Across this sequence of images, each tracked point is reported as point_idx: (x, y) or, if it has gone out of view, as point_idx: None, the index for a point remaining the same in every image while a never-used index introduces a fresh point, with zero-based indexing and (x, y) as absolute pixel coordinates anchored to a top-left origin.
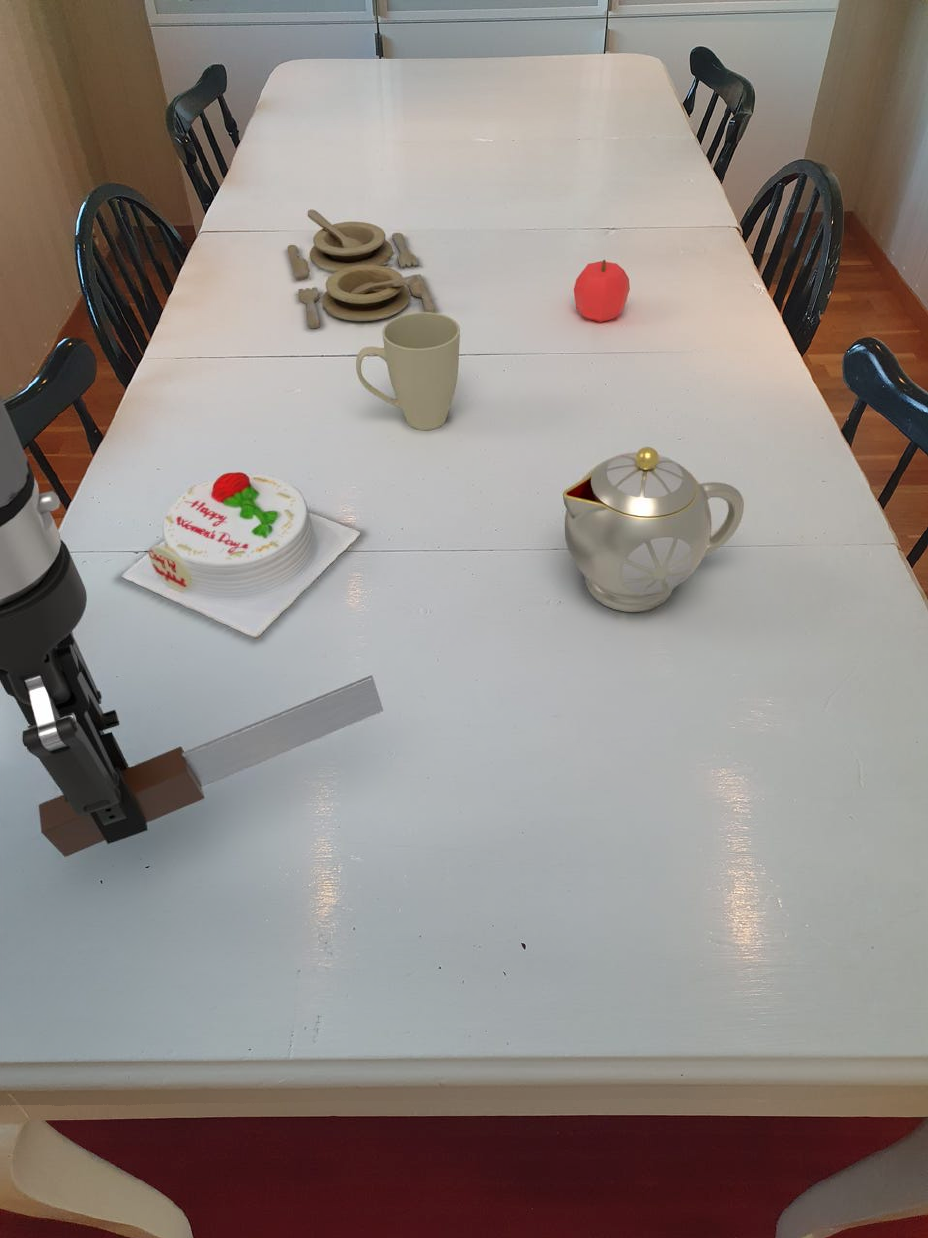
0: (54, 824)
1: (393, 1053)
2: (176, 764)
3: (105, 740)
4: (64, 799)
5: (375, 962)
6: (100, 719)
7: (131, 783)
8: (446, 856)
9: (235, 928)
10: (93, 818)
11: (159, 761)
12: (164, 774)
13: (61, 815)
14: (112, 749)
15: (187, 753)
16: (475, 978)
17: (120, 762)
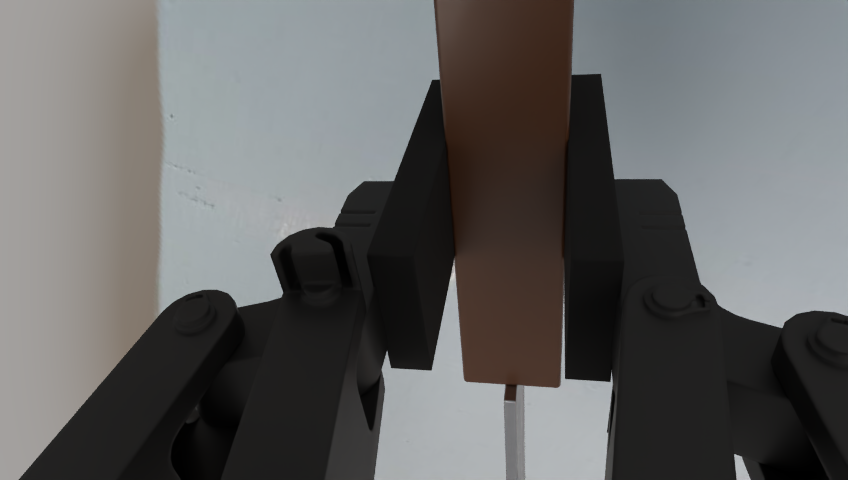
0: (447, 7)
1: (163, 263)
2: (502, 368)
3: (579, 359)
4: (542, 54)
5: (276, 279)
6: (606, 459)
7: (496, 262)
8: (401, 380)
9: (367, 133)
10: (407, 149)
11: (538, 336)
12: (485, 337)
13: (476, 37)
14: (565, 330)
15: (506, 411)
16: None
17: (564, 277)
